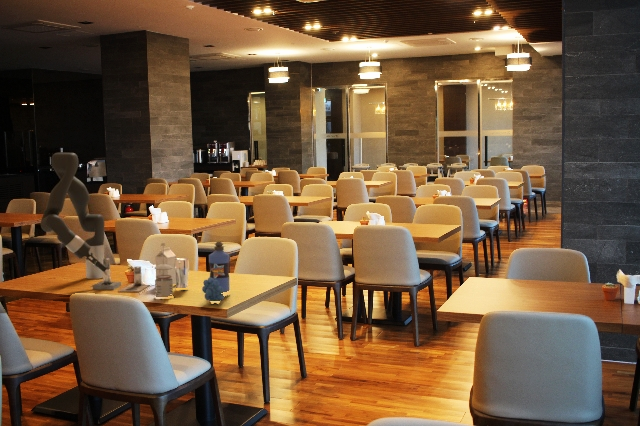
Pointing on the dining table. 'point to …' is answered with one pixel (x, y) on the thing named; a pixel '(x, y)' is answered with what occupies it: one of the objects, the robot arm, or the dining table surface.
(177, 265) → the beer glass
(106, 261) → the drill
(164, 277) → the french press
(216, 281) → the grapes
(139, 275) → the short bit
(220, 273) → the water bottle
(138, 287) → the rack
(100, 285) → the socket block
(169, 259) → the milk carton
